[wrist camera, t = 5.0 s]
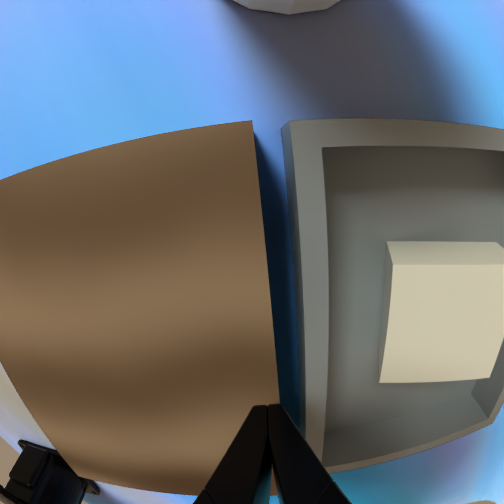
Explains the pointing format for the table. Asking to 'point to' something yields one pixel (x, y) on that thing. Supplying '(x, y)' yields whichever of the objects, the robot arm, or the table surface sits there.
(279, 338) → the table surface
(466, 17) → the table surface
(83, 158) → the plate
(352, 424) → the box
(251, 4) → the white cup
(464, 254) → the tile
